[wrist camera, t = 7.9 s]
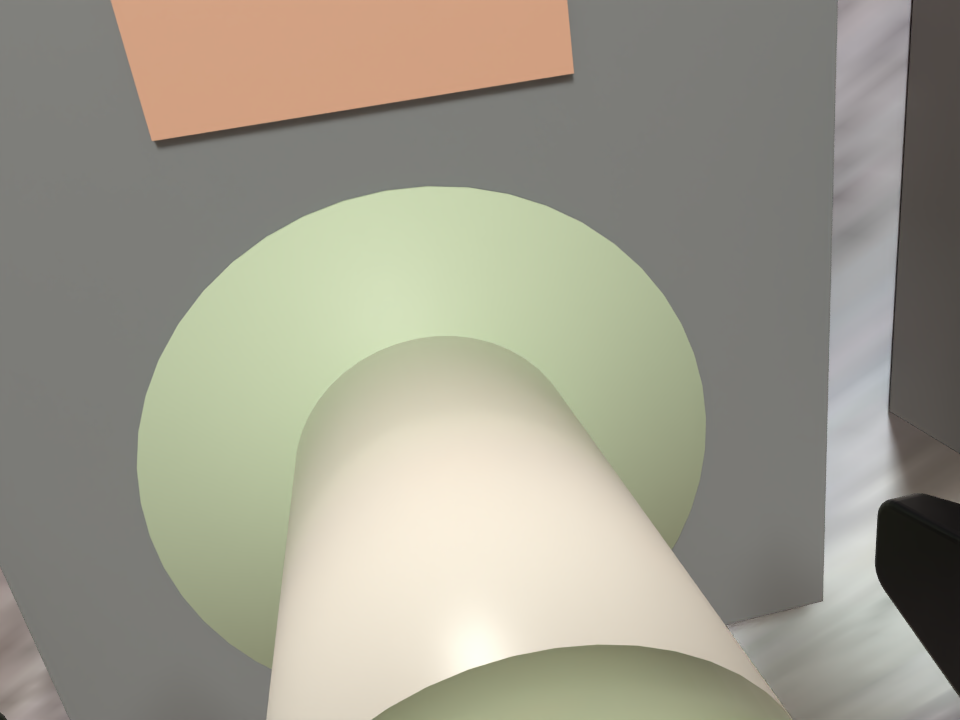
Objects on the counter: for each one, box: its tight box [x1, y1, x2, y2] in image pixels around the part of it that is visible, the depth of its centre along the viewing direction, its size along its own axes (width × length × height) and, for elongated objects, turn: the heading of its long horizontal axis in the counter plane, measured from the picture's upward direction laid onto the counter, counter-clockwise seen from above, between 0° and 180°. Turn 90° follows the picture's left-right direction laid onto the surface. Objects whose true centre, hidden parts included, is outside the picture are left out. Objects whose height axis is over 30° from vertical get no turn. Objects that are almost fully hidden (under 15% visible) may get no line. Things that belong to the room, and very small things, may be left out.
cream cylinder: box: [266, 336, 793, 720], centre depth 7 cm, size 4×4×7 cm
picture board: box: [0, 0, 838, 720], centre depth 10 cm, size 12×15×1 cm
